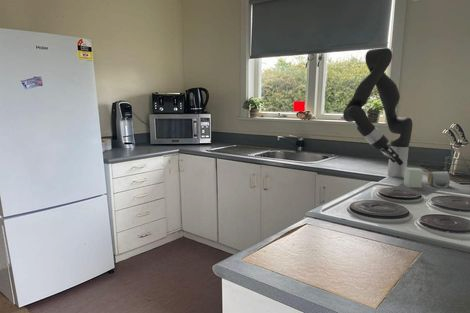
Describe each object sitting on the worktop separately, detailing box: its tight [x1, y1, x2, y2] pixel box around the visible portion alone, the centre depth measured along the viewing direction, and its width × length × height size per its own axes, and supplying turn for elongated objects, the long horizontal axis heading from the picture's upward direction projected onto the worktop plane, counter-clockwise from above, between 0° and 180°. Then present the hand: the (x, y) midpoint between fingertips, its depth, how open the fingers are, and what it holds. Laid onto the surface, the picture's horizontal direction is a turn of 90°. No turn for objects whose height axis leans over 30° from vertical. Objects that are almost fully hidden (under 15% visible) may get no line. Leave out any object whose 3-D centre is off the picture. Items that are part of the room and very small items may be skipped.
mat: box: [389, 182, 441, 197], centre depth 155 cm, size 20×16×1 cm
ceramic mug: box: [427, 171, 451, 189], centre depth 161 cm, size 11×8×8 cm
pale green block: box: [403, 166, 424, 188], centre depth 160 cm, size 6×6×8 cm
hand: (398, 162), depth 160 cm, fingers open, 8 cm apart
